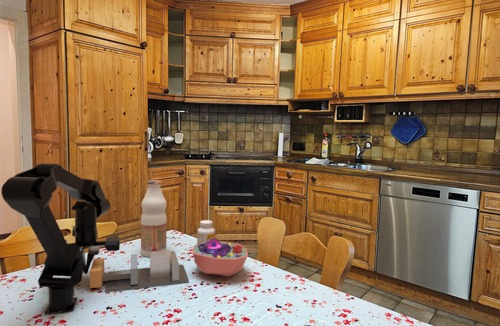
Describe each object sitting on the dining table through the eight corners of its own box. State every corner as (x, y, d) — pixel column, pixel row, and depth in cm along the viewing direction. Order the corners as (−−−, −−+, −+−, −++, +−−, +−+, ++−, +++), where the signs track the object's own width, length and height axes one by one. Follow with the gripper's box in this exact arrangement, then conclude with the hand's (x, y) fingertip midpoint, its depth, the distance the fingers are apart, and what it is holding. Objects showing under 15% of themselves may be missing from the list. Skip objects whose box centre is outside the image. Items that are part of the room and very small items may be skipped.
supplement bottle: (216, 252, 130) (216, 220, 129) (212, 258, 124) (213, 224, 123) (199, 250, 131) (200, 219, 130) (195, 256, 125) (195, 223, 123)
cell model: (225, 291, 98) (226, 254, 97) (180, 272, 110) (180, 239, 109) (258, 273, 112) (259, 240, 111) (215, 258, 124) (215, 229, 123)
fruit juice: (139, 258, 121) (139, 182, 119) (141, 249, 130) (142, 179, 128) (166, 257, 123) (166, 182, 121) (166, 248, 132) (167, 179, 130)
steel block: (170, 276, 105) (170, 254, 105) (150, 278, 103) (150, 256, 103) (168, 271, 109) (169, 250, 109) (149, 273, 107) (150, 252, 107)
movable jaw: (137, 284, 98) (137, 268, 98) (89, 289, 94) (89, 273, 94) (137, 268, 110) (137, 254, 109) (94, 272, 105) (94, 257, 105)
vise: (188, 282, 103) (189, 263, 102) (104, 292, 95) (104, 272, 95) (183, 266, 115) (183, 249, 115) (108, 273, 107) (108, 256, 107)
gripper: (120, 214, 108) (120, 260, 110) (55, 217, 102) (56, 266, 103) (119, 223, 98) (119, 274, 99) (47, 227, 92) (47, 281, 93)
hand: (86, 273), depth 99 cm, fingers closed
